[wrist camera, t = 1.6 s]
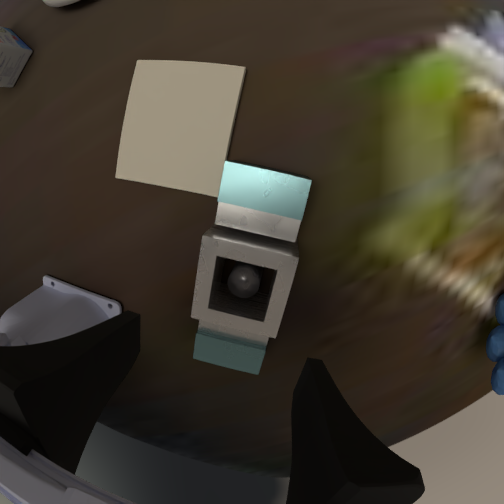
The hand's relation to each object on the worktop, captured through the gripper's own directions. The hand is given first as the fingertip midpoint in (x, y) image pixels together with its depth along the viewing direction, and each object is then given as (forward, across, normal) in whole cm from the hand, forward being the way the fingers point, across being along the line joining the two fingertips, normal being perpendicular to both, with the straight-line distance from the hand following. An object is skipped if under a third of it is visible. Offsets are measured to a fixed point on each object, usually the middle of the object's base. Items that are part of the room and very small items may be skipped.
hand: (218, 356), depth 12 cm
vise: (+10, 0, 0) cm, 10 cm away
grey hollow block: (+10, 0, 0) cm, 10 cm away
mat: (+10, +7, -9) cm, 15 cm away
